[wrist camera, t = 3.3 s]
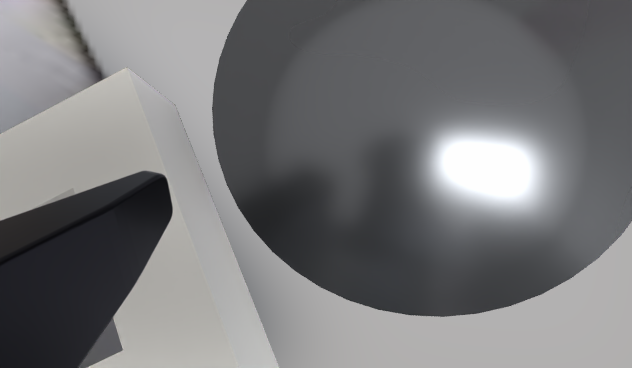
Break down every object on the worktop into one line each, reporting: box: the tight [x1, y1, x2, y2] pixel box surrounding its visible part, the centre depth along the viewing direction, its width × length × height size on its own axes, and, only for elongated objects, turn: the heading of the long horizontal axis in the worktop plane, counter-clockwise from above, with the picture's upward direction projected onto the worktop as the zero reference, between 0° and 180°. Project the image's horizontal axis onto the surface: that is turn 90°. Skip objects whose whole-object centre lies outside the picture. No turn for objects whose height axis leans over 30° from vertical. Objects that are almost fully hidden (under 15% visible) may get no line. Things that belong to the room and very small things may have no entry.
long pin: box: [212, 0, 632, 317], centre depth 10 cm, size 4×4×13 cm
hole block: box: [0, 67, 279, 368], centre depth 16 cm, size 12×12×4 cm
